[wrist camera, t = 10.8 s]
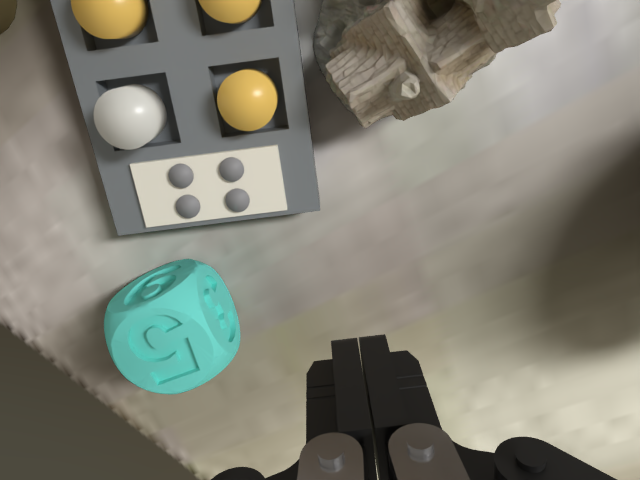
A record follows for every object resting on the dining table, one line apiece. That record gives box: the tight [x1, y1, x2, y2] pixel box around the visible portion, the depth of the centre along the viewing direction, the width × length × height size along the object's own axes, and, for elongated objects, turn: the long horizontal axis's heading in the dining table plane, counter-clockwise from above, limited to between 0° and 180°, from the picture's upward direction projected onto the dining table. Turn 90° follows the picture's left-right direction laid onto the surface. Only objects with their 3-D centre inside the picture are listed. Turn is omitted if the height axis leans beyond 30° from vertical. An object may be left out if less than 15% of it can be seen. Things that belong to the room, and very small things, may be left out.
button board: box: [50, 0, 320, 236], centre depth 37 cm, size 20×16×4 cm
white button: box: [94, 84, 167, 150], centre depth 35 cm, size 4×4×3 cm
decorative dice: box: [104, 259, 240, 394], centre depth 42 cm, size 8×8×8 cm
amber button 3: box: [217, 68, 278, 131], centre depth 36 cm, size 4×4×3 cm
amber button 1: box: [71, 0, 149, 39], centre depth 34 cm, size 4×4×3 cm
